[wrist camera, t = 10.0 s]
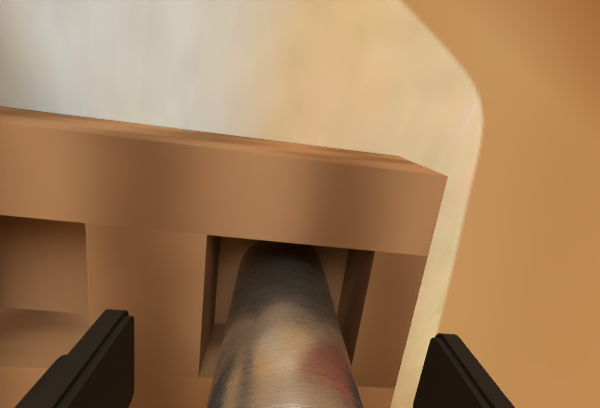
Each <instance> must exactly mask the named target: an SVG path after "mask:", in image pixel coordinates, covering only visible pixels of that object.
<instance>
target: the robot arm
mask: <svg viewBox="0 0 600 408" xmlns="http://www.w3.org/2000/svg"><path fill="white" fill-rule="evenodd" d="M133 394H134V317H133V316H129V313H128V311H127V310H114V309H106V310H105V311H104V312H103V313H102V314H101V315H100V317H99V318H98V319H97V320H96V321H95V323H94V324H93V325H92V326H91V327H90V328H89V330H88V331H87V332H86V333H85V334H84V335H83V337H82V338H81V339H80V340H79V341H78V343H77V344H76V345H75V346H74V347H73V348H72V350H71V351H70V352H69V353H68V354H67V355H62V356H60V357H59V358H58V359H57V360H56V361H55V362H54V363H53V364H52V365H51V366H50V367H49V369H48V370H47V371H46V372H45V373H44V374H43V375H42V377H41V378H40V379H39V380H38V381H37V382H36V383H35V385H34V386H33V387H32V388H31V389H30V390H29V391H28V393H27V394H26V395H25V396H24V397H23V398H22V399H21V401H20V402H19V403H18V404H17V405H16V406H15V407H14V408H128V407H129V405H130V403H131V401H132V398H133ZM413 408H515V407H514V406H513V405H512V404H511V402H510V401H509V400H508V399H507V398H506V396H505V395H504V393H503V392H502V391H501V390H500V388H499V387H498V386H497V385H496V383H495V382H494V381H493V380H492V378H491V377H490V376H489V374H488V373H487V372H486V371H485V369H484V368H483V367H482V366H481V364H480V363H479V362H478V361H477V359H476V358H475V357H474V355H473V354H472V353H471V352H470V351H469V349H468V348H467V347H466V345H465V344H464V343H463V342H462V340H461V339H460V338H459V337H458V336H457V335H455V334H440V333H439V334H437V335H436V336H435V338H432V339H431V340H430V344H429V347H428V351H427V355H426V358H425V362H424V366H423V369H422V373H421V377H420V380H419V384H418V388H417V392H416V395H415V399H414V403H413Z"/></svg>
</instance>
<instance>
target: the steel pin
mask: <svg viewBox="0 0 600 408" xmlns="http://www.w3.org/2000/svg"><path fill="white" fill-rule="evenodd" d="M206 408H363V405H362V402H361V398H360V395H359V392H358V388H357V385H356V381H355V378H354V374H353V371H352V367H351V364H350V360H349V357H348V353H347V350H346V346H345V343H344V339H343V336H342V332H341V329H340V325H339V322H338V318H337V315H336V312H335V308H334V305H333V301H332V298H331V294H330V291H329V287H328V284H327V280H326V277H325V273H324V270H323V266H322V263H321V260H320V258H319V256H318V254H317V252H316V251H315V250H314V248H313V247H312V246H311V245H307V244H296V243H286V242H276V241H265V240H259V241H257V242H256V243H254V244H253V245H252V246H251V247H250V248H249V249H248V250H247V251H246V253H245V254H244V256H243V258H242V260H241V262H240V266H239V270H238V274H237V278H236V283H235V287H234V291H233V295H232V300H231V304H230V308H229V313H228V317H227V321H226V325H225V330H224V334H223V338H222V342H221V347H220V351H219V355H218V359H217V364H216V368H215V372H214V377H213V381H212V385H211V389H210V394H209V398H208V402H207V406H206Z"/></svg>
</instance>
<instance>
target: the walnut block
mask: <svg viewBox="0 0 600 408" xmlns="http://www.w3.org/2000/svg"><path fill="white" fill-rule="evenodd" d="M447 177H448V176H445V175H443V174H440V173H438V172H435V171H433V170H431V169H428V168H426V167H423V166H421V165H418V164H416V163H413V162H411V161H408V160H406V159H404V158H401V157H399V156H392V155H384V154H376V153H368V152H360V151H352V150H344V149H336V148H328V147H320V146H312V145H304V144H296V143H288V142H280V141H272V140H264V139H256V138H248V137H240V136H232V135H224V134H216V133H208V132H200V131H192V130H184V129H176V128H168V127H160V126H152V125H144V124H136V123H128V122H120V121H112V120H104V119H96V118H88V117H80V116H72V115H64V114H56V113H48V112H40V111H32V110H24V109H16V108H9V107H1V106H0V408H14V407H15V406H16V405H17V404H18V403H19V402H20V401H21V399H22V398H23V397H24V396H25V395H26V394H27V393H28V391H29V390H30V389H31V388H32V387H33V386H34V385H35V383H36V382H37V381H38V380H39V379H40V378H41V377H42V375H43V374H44V373H45V372H46V371H47V370H48V369H49V367H50V366H51V365H52V364H53V363H54V362H55V361H56V360H57V359H58V358H59V357H60V356H62V355H67V354H68V353H69V352H70V351H71V350H72V348H73V347H74V346H75V345H76V344H77V343H78V341H79V340H80V339H81V338H82V337H83V335H84V334H85V333H86V332H87V331H88V330H89V328H90V327H91V326H92V325H93V324H94V323H95V321H96V320H97V319H98V318H99V317H100V315H101V314H102V313H103V312H104V311H105V310H106V309H114V310H127V311H128V313H129V316H133V317H134V394H133V398H132V401H131V403H130V405H129V407H128V408H206V406H207V402H208V398H209V394H210V389H211V385H212V381H213V377H214V372H215V368H216V364H217V359H218V355H219V351H220V347H221V342H222V338H223V334H224V330H225V325H226V321H227V317H228V313H229V308H230V304H231V300H232V295H233V291H234V287H235V283H236V278H237V274H238V270H239V266H240V262H241V260H242V258H243V256H244V254H245V253H246V251H247V250H248V249H249V248H250V247H251V246H252V245H253V244H254V243H256V242H257V241H259V240H265V241H276V242H286V243H296V244H307V245H311V246H312V247H313V248H314V250H315V251H316V252H317V254H318V256H319V258H320V260H321V263H322V266H323V270H324V273H325V277H326V280H327V284H328V287H329V291H330V294H331V298H332V301H333V305H334V308H335V312H336V315H337V318H338V322H339V325H340V329H341V332H342V336H343V339H344V343H345V346H346V350H347V353H348V357H349V360H350V364H351V367H352V371H353V374H354V378H355V381H356V385H357V388H358V392H359V395H360V398H361V402H362V405H363V408H390V405H391V401H392V397H393V393H394V389H395V385H396V381H397V377H398V373H399V369H400V365H401V361H402V357H403V353H404V349H405V345H406V341H407V337H408V333H409V329H410V325H411V321H412V317H413V313H414V309H415V305H416V301H417V297H418V293H419V289H420V285H421V281H422V277H423V273H424V269H425V265H426V261H427V257H428V253H429V249H430V245H431V241H432V237H433V233H434V229H435V225H436V221H437V217H438V213H439V209H440V205H441V201H442V197H443V193H444V189H445V185H446V181H447Z"/></svg>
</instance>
